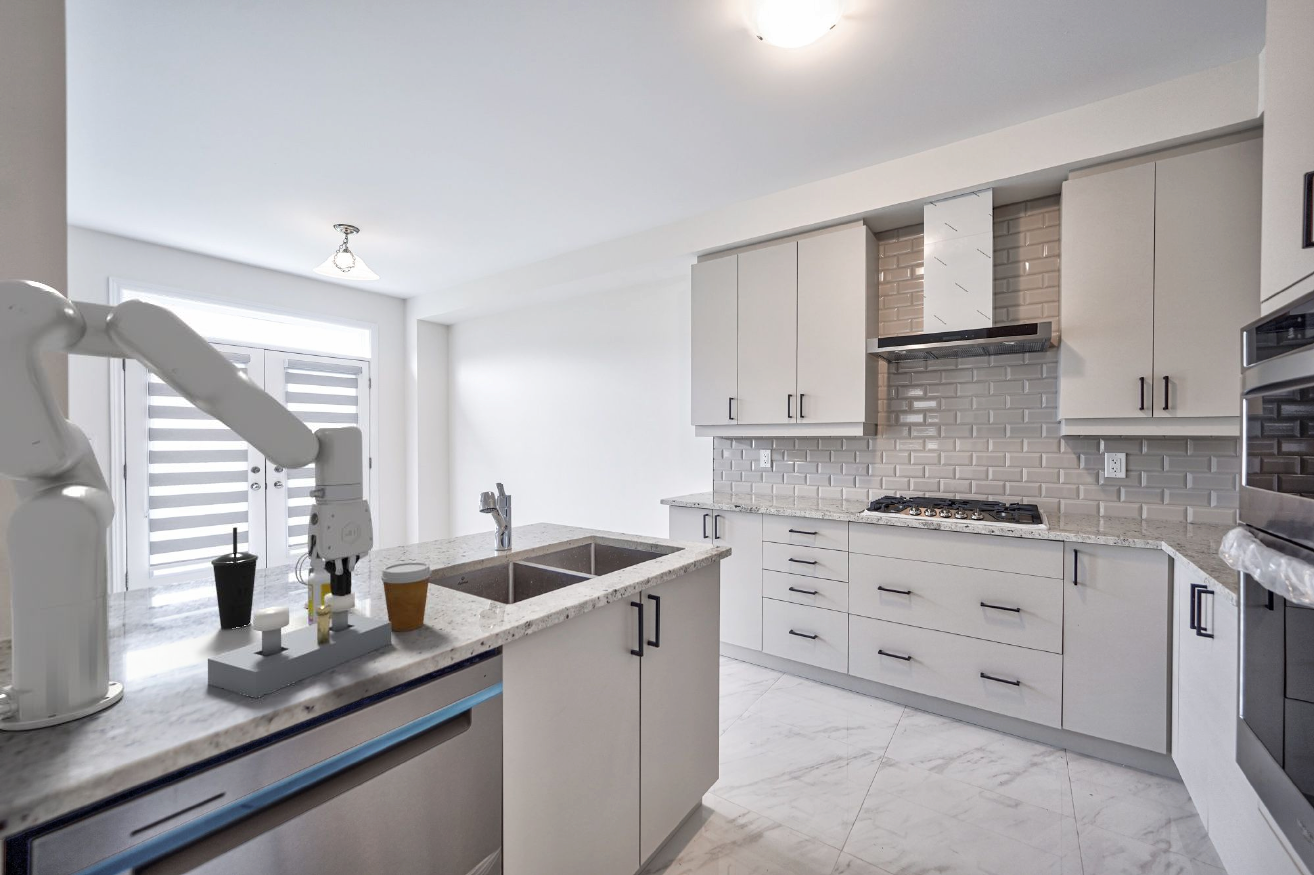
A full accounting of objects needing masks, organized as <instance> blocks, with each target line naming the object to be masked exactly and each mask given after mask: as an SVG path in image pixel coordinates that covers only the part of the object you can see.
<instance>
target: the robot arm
mask: <svg viewBox="0 0 1314 875" xmlns="http://www.w3.org/2000/svg"><path fill="white" fill-rule="evenodd" d="M41 352H46V353H53V354H55V353H56V354H65V355H77V356H85V357H86V356H89V357H98V358H111V359H120V360H121V359H123V360H136V361H137V362H138V363H139V364H140V365H142V366H143V367H144V368H146V370H148V371H149V372H151V373H152V374H153V375H155V376H156V377H157V378H158V379H159V380H161V381H162V382H164V383H165V384H166V385H167V386H169V387H170V388H171V389H172V390H174V391H175V392H176V393H178V394H179V395H180V396H181V397H182V398H184V399H185V400H186V401H188V402H189V403H190V404H191V405H193V406H194V407H196V408H197V409H198V410H199V411H201V412H203V413H205V414H207V415H209V416H210V417H212V418H214V419H216V420H218V421H219V422H221V423H222V424H224V426H225V427H227V428H229V429H230V430H232V431H233V432H234V433H235V434H237V435H238V436H240V438H242V439H243V440H245V441H246V442H247V444H249V445H250V446H252V447H253V448H254V449H256V450H257V451H258V452H260V454H262V455H263V456H264V458H265V459H266V460H267V462H269V463H271V464H272V465H274V466H277V467H279V468H282V469H284V470H298V469H301V468H302V469H303V468H305V467H307V466H309V465H312V464H314V477H315V478H314V484H315V485H314V489H311V490H310V491H309V497H310V498H311V499H314V500H315V502H314V503H312V505H311V509H310V513H309V519H308V521H309V522H308V529H307V553H308V554H309V557H310V558H311V559H310V562H309V567H310V568H312V567H314V568H324V569H325V570H326V571H327V573H329V574H330V589H331V594H332V595H337V596H345V595H348V594H351V591H352V572H354V571H355V568H356V565H357V564H358V562H359V561H360V560H362V559H363V558H366V557H368V555H369V554H370V553H369V552H370V551H371V550H372V549H373V547H374V530H373V521H372V520H373V519H372V513H371V508H370V506H369V501H368V499H367V498H364V482H363V481H364V477H363V476H364V473H363V472H364V471H363V468H364V466H363V463H364V462H363V433H362V431H361V429H360V428H359V427H357V426H355V425H323V426H319V427H318V426H317V427H314V426H313V427H312V426H308V425H306V423H304V422H303V421H302V420H300V418H298V417H297V416H296V415H295V414H293V413H292V412H291V411H289V409H287V407H286V406H284V404H281V403H280V402H279V401H278V400H277V399H275V397H273V396H272V395H271V394H270V393H269V392H267V391H266V390H265V389H263V388H262V387H261V386H259V384H257V383H256V382H255V381H254V380H253V379H252V378H251V377H250V376H249V375H248V374H246V373H245V372H244V371H243V370H241V369H240V368H239V367H238V366H237V365H236V364H234V363H233V362H232V361H231V360H230V359H228V358H227V357H226V356H225V355H223V354H222V353H221V352H220V351H219V350H217V349H216V348H215V347H214V346H213V345H212V344H211V343H209V342H208V341H207V340H206V339H204V337H202V336H201V335H200V334H199V333H198V332H197V331H196V330H194V329H193V328H192V327H191V326H189V324H187V323H186V322H185V321H184V320H183V319H181V317H179V316H178V315H177V314H176V313H174V312H173V311H172V310H170V309H169V308H168V307H166V306H165V305H163V304H161V303H158V302H157V301H154V300H151V299H145V298H134V299H133V298H132V299H128V300H125V301H122V302H121V303H119V304H117V305H114V304H103V303H96V302H89V301H82V300H76V299H68V298H66V297H65V296H64V295H63V294H62V293H60V292H59V291H57V290H56V289H54V288H52V287H50V286H48V285H45V284H43V283H40V282H36V281H33V280H29V279H19V278H18V279H17V278H16V279H15V278H14V279H11V278H9V279H4V280H0V476H1V477H4V478H6V479H9V480H10V482H11V485H12V487H13V489H14V490H15V493H16V495H17V497H18V499H19V503H18V504H17V505H16V506H15V507H14V508H13V510H12V511H11V512H10V514H9V517H8V519H7V522H6V527H5V547H6V555H7V561H8V569H9V582H10V585H9V586H10V609H11V610H10V611H11V613H10V614H11V616H10V618H11V619H10V620H11V685H7V686H3V687H2V694H0V729H1V730H5V731H23V730H24V731H25V730H26V731H27V730H32V729H33V730H36V729H41V728H45V727H50V726H51V727H52V726H55V725H58V724H59V725H60V724H63V723H68V722H71V721H74V720H77V719H81V718H83V717H86V716H89V715H92V714H94V713H97V712H99V711H102V710H103V709H105V708H106V709H107V708H108V707H110V706H112V705H114V704H115V703H116V702H118V701H119V700H120V699H121V698H122V697H123V696H124V695H125V694H124V693H125V691H124V690H125V687H124V685H123V684H122V683H120V682H117V681H111V680H110V627H109V626H110V623H109V622H110V621H109V620H110V616H109V615H110V614H109V611H110V609H109V608H110V606H109V604H110V603H109V599H110V597H109V566H108V564H109V563H108V546H107V544H108V543H107V542H108V540H107V537H108V536H107V534H108V529H109V527H110V526H111V525H112V522H113V520H114V518H115V513H116V512H115V503H114V502H115V501H114V500H113V497H112V494H111V491H110V489H109V487H108V484H107V482H106V480H105V479H106V478H105V477H104V474H103V471H102V469H101V467H100V465H99V462H98V459H97V457H96V454H95V452H94V449H93V446H92V445H91V443H90V441H89V440H90V439H88V436H87V435H86V433H85V432H84V431H83V429H82V428H80V427H79V426H78V425H77V424H76V423H75V422H72V421H70V420H69V419H66V418H65V415H64V412H63V411H62V409H61V406H60V405H59V402H58V399H57V397H56V395H55V392H54V389H53V387H52V386H53V385H52V383H51V381H50V379H49V376H48V374H47V371H46V370H45V368H44V365H43V363H42V359H41ZM308 554H307V555H308ZM309 557H308V558H309ZM323 559H325V561H323Z"/></svg>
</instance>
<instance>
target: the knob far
mask: <svg viewBox="0 0 1314 875" xmlns="http://www.w3.org/2000/svg"><path fill="white" fill-rule="evenodd" d="M355 595H356V593H355V591H353V590H351V594H348V595H345V596H337V595H332V594H331V593H329V594H327V595H325V596H324V605H331V612H332V631H334V632H339V631H342V630H345V629H348V614H349V610H352V609H353V608H355V603H356V602H355V601H356V600H355V599H356V598H355V597H356V596H355Z"/></svg>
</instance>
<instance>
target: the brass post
mask: <svg viewBox="0 0 1314 875" xmlns="http://www.w3.org/2000/svg"><path fill="white" fill-rule="evenodd" d="M330 612H331V605H321V606H317V607H316V614H317V644H325V643H328V642H329V641H330V618H329V613H330Z"/></svg>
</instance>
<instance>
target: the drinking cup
mask: <svg viewBox="0 0 1314 875" xmlns="http://www.w3.org/2000/svg"><path fill="white" fill-rule="evenodd" d="M258 559H259V556H258V555H257V554H252V553H249V552H243V551H239V552H238V527H235V526H234V527H232V552H230V553H226V554H223V555H221V556H219V557H217V558H215V559H212V560H211V566H212V567H213V575H214V583H215V590H216V591H215V592H216V599H217V607H218V616H219V622H220V623H219V624H220V629H221V630H233V629H232V628H236V627H241V628H243V627H242V626H244V625H247V626H249V625H250V624H251V619H252V609H253V600H254V590H255V581H256V579H255V578H256V570H257V569H256V568H257V561H258ZM249 623H250V624H249ZM248 624H249V625H248ZM244 627H245V626H244ZM236 629H237V628H236Z"/></svg>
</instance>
